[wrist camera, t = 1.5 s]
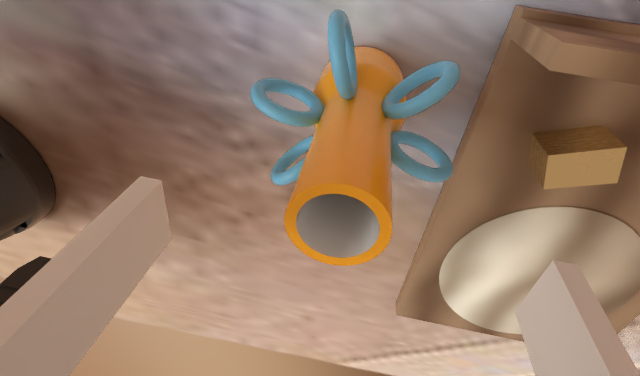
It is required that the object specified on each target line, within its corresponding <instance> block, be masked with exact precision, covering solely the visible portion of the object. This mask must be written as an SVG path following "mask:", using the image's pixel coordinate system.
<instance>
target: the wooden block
mask: <svg viewBox="0 0 640 376" xmlns="http://www.w3.org/2000/svg"><path fill="white" fill-rule="evenodd" d="M626 150H627V146H625V145H624V144H623V143H622V142H621V141H620V140H619V139H617V138H616V137H615V136H614V135H613V134H612V133H611V132H609V131H608V130H607V129H606V128H605V127H604V126H602V125H595V126H587V127H579V128H571V129H562V130H554V131H546V132H538V133H532V136H531V145H530V154H529V163H528V165H529V167H530V169H531V170H532V172H533V173H534V175H535V177H536V178H537V180H538V181H539V183H540V185H541V186H542V188H543V189H554V188H566V187H578V186H589V185H601V184H612V183H617V182H618V179H619V175H620V172H621V168H622V164H623V161H624V157H625V153H626Z"/></svg>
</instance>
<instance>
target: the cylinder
mask: <svg viewBox="0 0 640 376" xmlns="http://www.w3.org/2000/svg"><path fill="white" fill-rule="evenodd" d="M328 45H329V54H330V62H329V63H328V64H327V65H326V67H325V69H324V70H323V72H322V74H321V77H320V79H319V81H318V83H317V85H316V87H315V89H314V92H313V93H312V92H311V91H310V90H308V89H306V88H304V87H303V86H300V85H298V84H296V83H293V82H290V81H287V80H282V79H276V78H267V79H262V80H259V81H257V82H256V83H254V84H253V86H252V88H251V92H250V95H251V99H252V101H253V103H254V104H255V106H256V107H257V108H258V109H259V110H260V111H262V112H263V113H264V114H266V115H267V116H269V117H271V118H273V119H275V120H277V121H279V122H282V123H285V124H288V125H293V126H302V127H304V126H312V125H314V126H315V128H316V131H315V134H314V135H313V136H310V137H308V138H306V139H304V140H302V141H301V142H299V143H298V144H296V145H295V146H293V147H292V148H291V149H290V150H288V151H287V152H286V153H285V154H284V155H283V156H282V157H281V158H280V159H279V160H278V162H277V163H276V164H275V166H274V167H273V169H272V171H271V180H272V182H273V183H275V184H276V185H286V184H289V183H292V182H294V181H296V180H297V182H296V185H295V187H294V190H293V193H292V195H291V198H290V201H289V203H288V206H287V209H286V212H285V218H284V222H285V228H286V231H287V234H288V236H289V238H290V239H291V241H292V242H293V243H294V245H295V246H296V247H297V248H298V249H299V250H301V251H302V252H303V253H305V254H306V255H308V256H309V257H311V258H313V259H315V260H318V261H320V262H323V263H327V264H332V265H342V266H346V265H356V264H360V263H364V262H367V261H369V260H371V259H373V258H375V257H376V256H378V255H379V254H380V253H381V252H382V251H383V250H384V249H385V248H386V246H387V245H388V243H389V241H390V239H391V235H392V187H391V160H392V161H393V162H394V163H395V164H396V165H397V166H398V167H399V168H401V169H402V170H403V171H405V172H406V173H408V174H410V175H412V176H414V177H416V178H418V179H421V180H424V181H428V182H443V181H445V180H447V179H449V178H450V176H451V175H452V173H453V165H452V162H451V160H450V159H449V157H448V156H447V155H446V153H445V152H444V151H443V150H442V149H441V148H439V147H438V146H437V145H435V144H434V143H433V142H431V141H429V140H428V139H426V138H424V137H422V136H420V135H417V134H414V133H411V132H407V131H400V130H401V128H402V126H403V124H404V121H405V118H407V117H410V116H413V115H415V114H418V113H420V112H422V111H424V110H425V109H427V108H429V107H431V106H432V105H434V104H435V103H437V102H438V101H439V100H441V99H442V98H443V97H444V96H446V95H447V94H448V93H449V92H450V91H451V90H452V89H453V87H454V86H455V85H456V83H457V82H458V80H459V77H460V68H459V66H458V65H457V64H456V63H455V62H453V61H440V62H436V63H433V64H430V65H428V66H426V67H424V68H422V69H420V70H418V71H416V72H414V73H413V74H411V75H409V76H408V77H407V78H405V79H403V75H402V72H401V70H400V68H399V66H398V65H397V63H396V62H395V61H394V60H393V59H392V58H391V57H390V56H389V55H388V54H386V53H384V52H383V51H381V50H378V49H376V48H372V47H364V46H361V47H354V42H353V36H352V31H351V27H350V23H349V20H348V17H347V15H346V14H345V12H343V11H342V10H335V11H333V12H332V13H331V15H330V17H329V21H328ZM438 77H440V79H439V80H438V81H437V82H436V83H434V84H433V85H432V86H431V87H429V88H428V89H427V90H425V91H424V92H422V93H421V94H419V95H417V96H415V97H414V98H412V99H410V100H407V101H406V95H407V94H408V93H409V92H411V91H412V90H413V89H415V88H416V87H418V86H420V85H421V84H423V83H425V82H427V81H429V80H432V79H435V78H438ZM268 92H278V93H284V94H287V95H290V96H293V97H295V98H297V99H299V100H301V101H302V102H304V103H305V104H306V105H307V106H308V107H309V108H310V109H311V111H308V112H300V111H294V110H291V109H287V108H285V107H282V106H280V105H278V104H276V103H275V102H273V101H272V100H270V99H269V98H268V97H267V96H266V95H265V93H268ZM398 144H406V145H410V146H413V147H415V148H417V149H419V150H421V151H423V152H424V153H426V154H427V155H428V156H430V157H431V158H432V159H433V160H434V161H435V162H436V164H437V165H438V167H439V168H431V167H428V166H425V165H423V164H420V163H418V162H416V161H415V160H413V159H412V158H410V157H409V156H408V155H406V154H405V153H404V152H403V151H402V150H401V149H400V147H399V146H398ZM307 151H308V153H307V155H306V157H305V158H303V159H302V160H301V161H300V162H299V163H297V164H296V165H295V166H293V167H291V168H290V169H288V170H286V169H287V168H288V167H289V166H290V165H291V164H292V163H293V162H294V161H295V160H296V159H297V158H298V157H300V156H301V155H302V154H304V153H305V152H307Z"/></svg>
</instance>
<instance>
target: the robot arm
mask: <svg viewBox="0 0 640 376" xmlns="http://www.w3.org/2000/svg"><path fill="white" fill-rule="evenodd" d="M54 202H55V188H54V184H53V181H52V178H51V176H50V173H49V171H48V169H47V167H46V166H45V164H44V162H43V161H42V159H41V158H40V156H39V155H38V154H37V152H36V151H35V150H34V149H33V147H32V146H31V145H30V144H29V143H28V142H27V141H26V140H25V139H24V138H23V136H21V135H20V134H19V133H18V132H17V131H16V130H15V129H14V128H13V127H12V126H10V125H9V124H8V123H7V122H5V121H4V120H3V119H1V118H0V240H3V239H5V238H7V237H10V236H12V235H14V234H17V233H20V232H22V231H25V230H27V229H29V228H30V227H32V226H33V225H35V224H36V223H37V222H38V221H40V220H41V219H42V218H43V217H45V216H46V215H47V214H48V213H49V212H50V211H51V209H52V208H53V205H54ZM171 239H172V235H171V230H170V224H169V219H168V213H167V208H166V202H165V197H164V191H163V186H162V180H157V179H153V178H148V177H143V176H140V177H139V178H138V179H137V180H136V181H135V182H134V183H132V184H131V185H130V186H129V187H128V188H127V189H126V190H125V191H124V192H123V193H122V194H121V195H120V196H119V197H117V198H116V199H115V200H114V201H113V202H112V203H111V204H110V205H109V206H108V207H107V208H106V209H105V210H104V211H102V212H101V213H100V214H99V215H98V216H97V217H96V218H95V219H94V220H93V221H92V222H91V223H90V224H89V225H87V226H86V227H85V228H84V229H83V230H82V231H81V232H80V233H79V234H78V235H77V236H76V237H75V238H74V239H72V240H71V241H70V242H69V243H68V244H67V245H66V246H65V247H64V248H63V249H62V250H61V251H60V252H59V253H58V254H56V255H55V256H54V257H53V258H52V259H50V258H46V257H41V256H40V257H38V258H36V259H34V260H32V261H31V262H29V263H27V264H25V265H23V266H21V267H20V268H18V269H17V270H16V271H14V272H13V273H12V274H11V275H10V276H9V277H8V278H6V279H5V280H4V281H3V282H2V283H1V284H0V376H70V374H71V373H72V372H73V370H74V369H75V368H76V366H77V365H78V364H79V362H80V361H81V360H82V358H83V357H84V356H85V354H86V353H87V352H88V350H89V349H90V347H91V346H92V345H93V343H94V342H95V341H96V339H97V338H98V337H99V335H100V334H101V333H102V331H103V330H104V329H105V327H106V326H107V324H108V323H109V322H110V320H111V319H112V318H113V317H114V315H115V314H116V313H117V311H118V310H119V308H120V307H121V306H122V304H123V303H124V302H125V300H126V299H127V298H128V296H129V295H130V294H131V292H132V291H133V290H134V288H135V287H136V286H137V284H138V283H139V282H140V280H141V279H142V278H143V276H144V275H145V274H146V272H147V271H148V269H149V268H150V267H151V265H152V264H153V263H154V261H155V260H156V259H157V257H158V256H159V255H160V253H161V252H162V251H163V249H164V248H165V247H166V245H167V244H168V243H169V241H170V240H171ZM515 314H516V317H517V320H518V323H519V326H520V330H521V333H522V336H523V339H524V342H525V345H526V348H527V351H528V354H529V357H530V360H531V363H532V366H533V369H534V372H535V376H640V374H639V372H638V370H637V368H636V367H635V365H634V363H633V361H632V360H631V358H630V356H629V354H628V353H627V351H626V349H625V347H624V345H623V344H622V342H621V340H620V338H619V337H618V335H617V333H616V331H615V330H614V328H613V326H612V324H611V323H610V321H609V319H608V317H607V315H606V314H605V312H604V310H603V308H602V307H601V305H600V303H599V301H598V300H597V298H596V296H595V294H594V293H593V291H592V289H591V287H590V286H589V284H588V282H587V280H586V278H585V277H584V275H583V273H582V271H581V270H580V268H579V266H578V265H576V264H571V263H566V262H561V261H556V260H553V261H552V262H551V263H550V265H549V266H548V267H547V269H546V270H545V271H544V273H543V274H542V275H541V277H540V278H539V279H538V281H537V282H536V283H535V285H534V286H533V287H532V289H531V290H530V291H529V293H528V294H527V295H526V297H525V298H524V299H523V301H522V302H521V303H520V305H519V306H518V307H517V309H516V310H515Z"/></svg>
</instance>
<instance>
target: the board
mask: <svg viewBox="0 0 640 376" xmlns="http://www.w3.org/2000/svg"><path fill="white" fill-rule="evenodd" d="M595 125H602V126H604V127H605V128H606V129H607V130H608V131H609V132H611V133H612V134H613V135H614V136H615V137H616V138H617V139H619V140H620V141H621V142H622V143H623V144H624V145H625V146H627V150H626V153H625V157H624V161H623V164H622V168H621V172H620V175H619V179H618V182H617V183H612V184H601V185H589V186H578V187H566V188H554V189H543V188H542V186H541V185H540V183H539V181H538V180H537V178H536V177H535V175H534V173H533V172H532V170H531V169H530V167H529V165H528V163H529V154H530V145H531V136H532V133H538V132H546V131H554V130H562V129H571V128H579V127H587V126H595ZM452 165H453V173H452V175H451V176H450V178H449V179H447V180H445V182H444V185H443V187H442V190H441V192H440V195H439V197H438V200H437V202H436V205H435V207H434V210H433V212H432V215H431V217H430V220H429V222H428V225H427V227H426V230H425V232H424V234H423V237H422V239H421V242H420V244H419V247H418V249H417V252H416V254H415V257H414V259H413V262H412V264H411V267H410V269H409V272H408V274H407V277H406V279H405V282H404V284H403V287H402V289H401V291H400V294H399V296H398V299H397V301H396V315H399V316H404V317H408V318H413V319H418V320H423V321H427V322H432V323H437V324H442V325H447V326H451V327H456V328H461V329H466V330H471V331H475V332H480V333H485V334H490V335H495V336H499V337H504V338H509V339H514V340H518V341H523V342H524V339H523V336H522V333H521V330H520V326H519V323H518V320H517V317H516V314H515V310H516V309H517V307H518V306H519V305H520V303H521V302H522V301H523V299H524V298H525V297H526V295H527V294H528V293H529V291H530V290H531V289H532V287H533V286H534V285H535V283H536V282H537V281H538V279H539V278H540V277H541V275H542V274H543V273H544V271H545V270H546V269H547V267H548V266H549V265H550V263H551V262H552V261H553V260H556V261H561V262H566V263H571V264H576V265H578V266H579V268H580V270H581V271H582V273H583V275H584V277H585V278H586V280H587V282H588V284H589V286H590V287H591V289H592V291H593V293H594V294H595V296H596V298H597V300H598V301H599V303H600V305H601V307H602V308H603V310H604V312H605V314H606V315H607V317H608V319H609V321H610V323H611V324H612V326H613V328H614V330H615V331H616V333H617V334H618V333H619V332H620V331H621V330H622V329H623V328H624V327H625V326H627V325H628V324H629V323H630V322H631V321H632V320H633V319H634V318H635V317H636V316H638V315H639V314H640V24H633V23H627V22H620V21H614V20H607V19H601V18H595V17H588V16H582V15H575V14H569V13H562V12H556V11H550V10H543V9H537V8H530V7H524V6H517V5H516V7H515V9H514V12H513V14H512V16H511V19H510V21H509V24H508V26H507V29H506V31H505V34H504V36H503V39H502V41H501V44H500V46H499V49H498V51H497V54H496V56H495V59H494V61H493V64H492V66H491V69H490V71H489V73H488V76H487V78H486V81H485V83H484V86H483V88H482V91H481V93H480V96H479V98H478V101H477V103H476V106H475V108H474V111H473V113H472V116H471V118H470V121H469V123H468V125H467V128H466V130H465V133H464V135H463V138H462V140H461V143H460V145H459V148H458V150H457V153H456V155H455V158H454V160H453V163H452Z"/></svg>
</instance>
